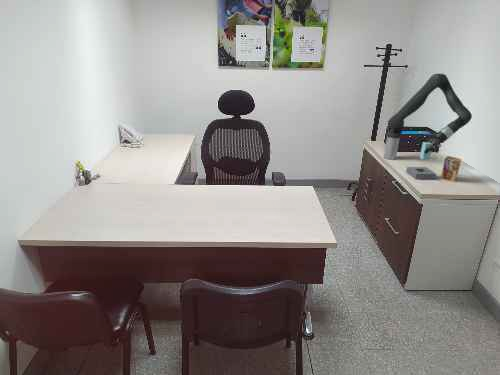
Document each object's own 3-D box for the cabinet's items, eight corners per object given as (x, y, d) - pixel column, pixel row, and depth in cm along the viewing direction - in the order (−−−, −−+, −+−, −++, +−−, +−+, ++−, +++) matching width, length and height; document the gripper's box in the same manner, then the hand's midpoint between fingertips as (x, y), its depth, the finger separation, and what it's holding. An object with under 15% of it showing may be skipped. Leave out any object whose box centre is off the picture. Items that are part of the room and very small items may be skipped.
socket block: (405, 172, 260) (407, 166, 258) (424, 172, 261) (425, 167, 259) (415, 179, 247) (416, 173, 245) (435, 179, 248) (436, 173, 246)
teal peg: (419, 157, 251) (422, 142, 247) (425, 157, 251) (429, 142, 247) (422, 159, 247) (426, 143, 243) (428, 159, 247) (432, 144, 243)
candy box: (456, 180, 248) (462, 159, 242) (453, 181, 245) (459, 160, 239) (443, 176, 254) (448, 155, 248) (440, 177, 251) (445, 156, 245)
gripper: (435, 128, 248) (414, 145, 252) (447, 133, 235) (425, 151, 239) (441, 135, 251) (420, 152, 255) (452, 141, 238) (431, 158, 241)
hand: (423, 151), depth 247 cm, fingers closed on teal peg, 4 cm apart
